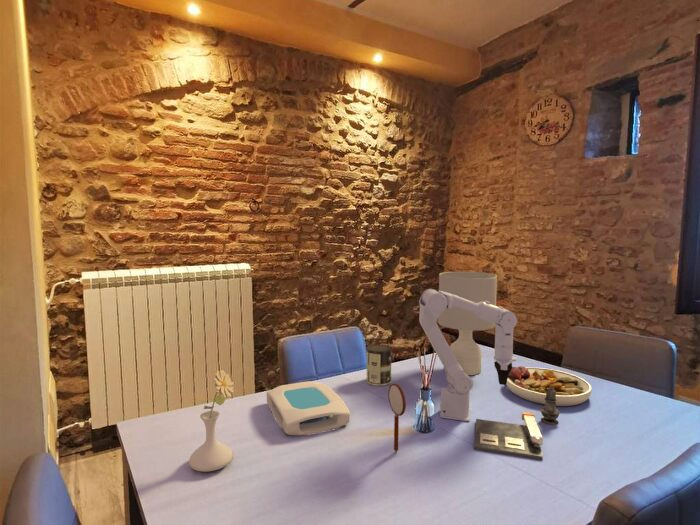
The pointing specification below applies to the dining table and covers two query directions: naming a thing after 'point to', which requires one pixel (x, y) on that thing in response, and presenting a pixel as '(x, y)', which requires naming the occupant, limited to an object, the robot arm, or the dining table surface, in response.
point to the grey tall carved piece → (550, 408)
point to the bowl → (548, 385)
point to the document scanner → (307, 407)
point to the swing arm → (532, 428)
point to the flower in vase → (213, 432)
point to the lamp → (467, 314)
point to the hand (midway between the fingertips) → (502, 383)
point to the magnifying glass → (396, 408)
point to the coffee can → (379, 365)
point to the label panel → (505, 439)
